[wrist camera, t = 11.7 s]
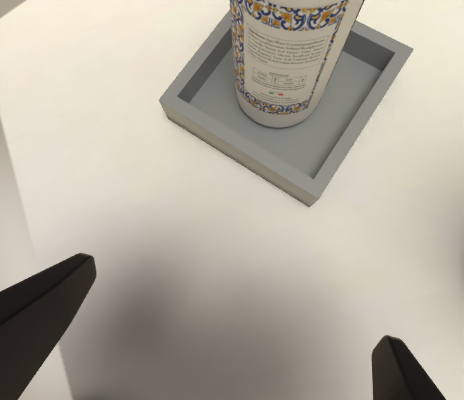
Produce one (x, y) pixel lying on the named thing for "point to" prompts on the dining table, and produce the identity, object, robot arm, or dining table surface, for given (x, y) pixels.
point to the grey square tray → (296, 136)
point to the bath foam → (287, 54)
